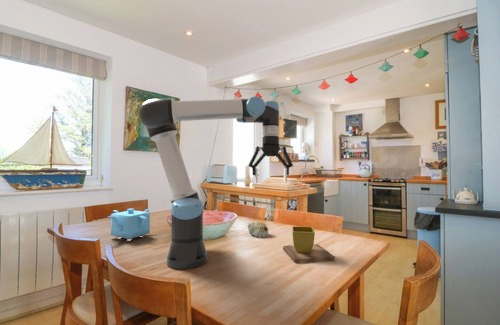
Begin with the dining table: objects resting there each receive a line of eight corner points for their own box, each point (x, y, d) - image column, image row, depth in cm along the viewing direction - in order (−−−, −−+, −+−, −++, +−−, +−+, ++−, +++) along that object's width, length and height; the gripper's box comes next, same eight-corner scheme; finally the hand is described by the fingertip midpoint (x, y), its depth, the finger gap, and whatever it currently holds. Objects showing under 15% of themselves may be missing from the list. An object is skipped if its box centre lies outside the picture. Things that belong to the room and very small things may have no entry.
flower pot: (315, 255, 104) (315, 232, 104) (292, 254, 105) (292, 231, 105) (312, 248, 112) (312, 226, 112) (292, 247, 113) (291, 226, 114)
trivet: (294, 263, 100) (294, 258, 100) (283, 249, 116) (283, 245, 116) (335, 260, 102) (334, 256, 102) (318, 247, 118) (318, 243, 118)
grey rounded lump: (272, 236, 134) (263, 219, 133) (255, 245, 134) (245, 228, 133) (269, 230, 144) (260, 214, 143) (253, 238, 144) (244, 222, 143)
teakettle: (148, 241, 129) (148, 210, 129) (105, 244, 123) (105, 213, 123) (150, 231, 147) (150, 205, 147) (113, 234, 141) (113, 206, 141)
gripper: (244, 134, 116) (244, 183, 115) (299, 135, 119) (299, 182, 119) (242, 136, 123) (242, 182, 123) (294, 137, 127) (294, 181, 127)
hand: (270, 182), depth 121 cm, fingers open, 13 cm apart
